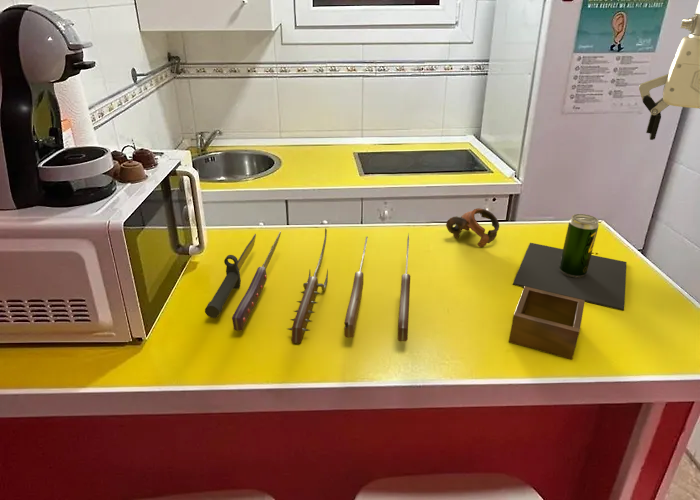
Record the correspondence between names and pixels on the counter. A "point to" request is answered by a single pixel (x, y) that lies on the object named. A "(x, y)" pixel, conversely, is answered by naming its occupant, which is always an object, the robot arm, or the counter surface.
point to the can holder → (547, 322)
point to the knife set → (309, 295)
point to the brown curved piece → (474, 225)
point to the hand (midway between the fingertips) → (684, 141)
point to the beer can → (578, 245)
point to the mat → (595, 287)
